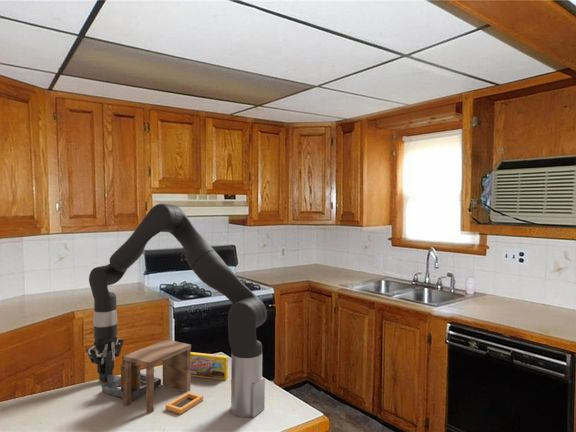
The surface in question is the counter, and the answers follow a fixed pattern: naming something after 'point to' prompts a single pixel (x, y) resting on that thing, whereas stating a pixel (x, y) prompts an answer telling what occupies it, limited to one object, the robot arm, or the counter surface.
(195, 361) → the candy box
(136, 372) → the condiment
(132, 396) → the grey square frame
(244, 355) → the robot arm
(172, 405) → the pit trap
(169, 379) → the wooden side table
